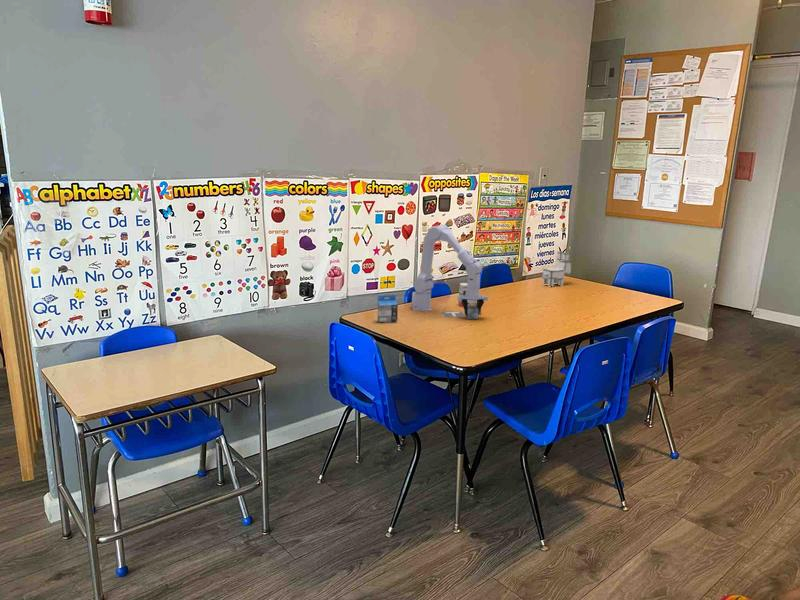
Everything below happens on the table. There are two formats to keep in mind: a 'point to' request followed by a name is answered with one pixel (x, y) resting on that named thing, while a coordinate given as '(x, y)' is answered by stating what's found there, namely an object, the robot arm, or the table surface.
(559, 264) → the toy llama
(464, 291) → the ink box
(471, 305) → the walnut block
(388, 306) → the label tape box
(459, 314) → the letter card
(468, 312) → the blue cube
